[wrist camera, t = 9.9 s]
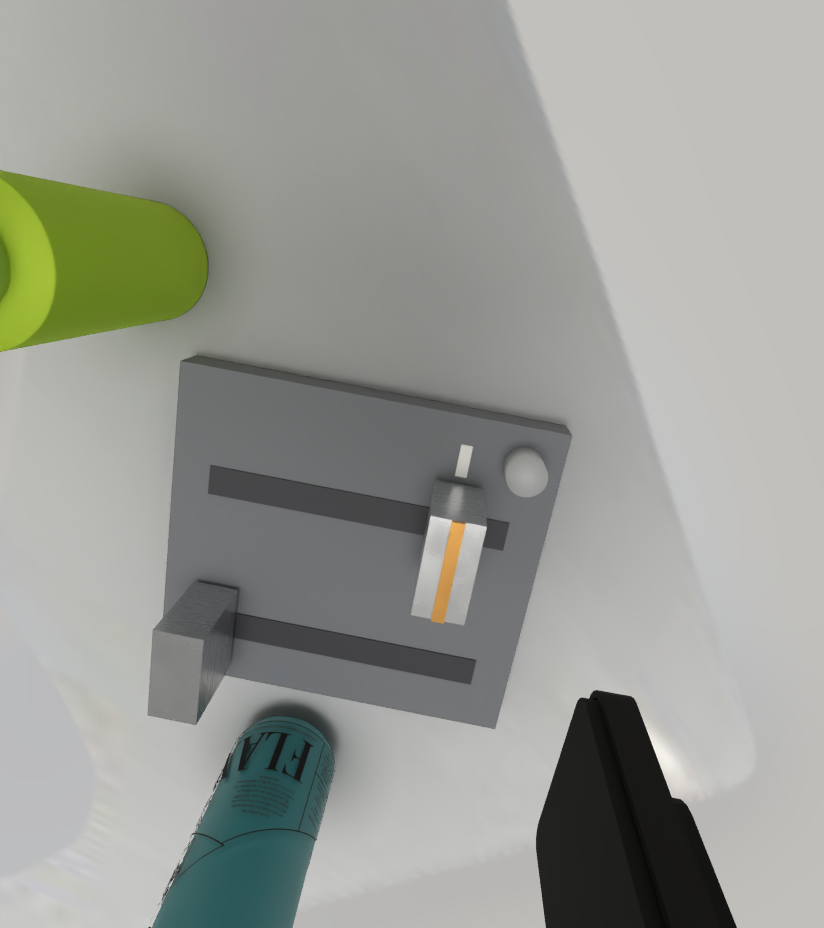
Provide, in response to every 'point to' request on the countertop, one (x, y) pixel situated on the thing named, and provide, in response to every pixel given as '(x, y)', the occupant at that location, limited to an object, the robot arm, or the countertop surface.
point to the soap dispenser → (90, 261)
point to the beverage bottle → (255, 832)
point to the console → (354, 532)
